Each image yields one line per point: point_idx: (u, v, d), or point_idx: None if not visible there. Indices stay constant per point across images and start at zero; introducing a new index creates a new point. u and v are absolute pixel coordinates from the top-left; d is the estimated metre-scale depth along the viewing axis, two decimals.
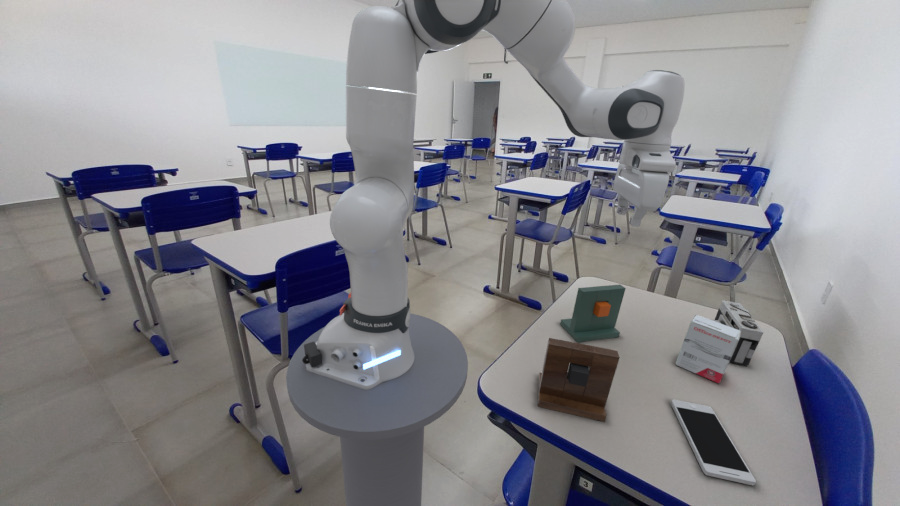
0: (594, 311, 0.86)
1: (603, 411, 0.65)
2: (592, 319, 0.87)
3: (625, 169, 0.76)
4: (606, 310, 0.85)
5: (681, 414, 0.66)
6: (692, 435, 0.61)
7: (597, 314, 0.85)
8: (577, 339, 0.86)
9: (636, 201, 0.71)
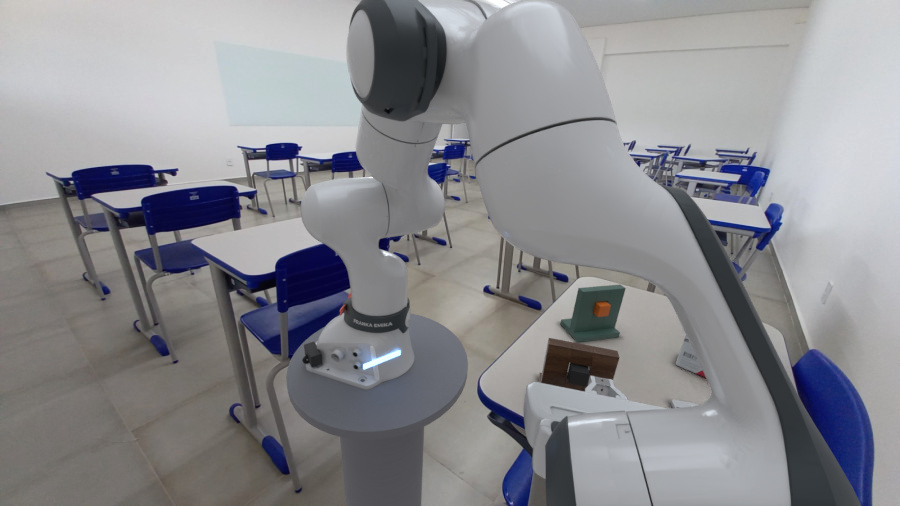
0: (594, 311, 0.86)
1: None
2: (592, 319, 0.87)
3: None
4: (606, 310, 0.85)
5: None
6: None
7: (597, 314, 0.85)
8: (577, 339, 0.86)
9: (547, 388, 0.45)
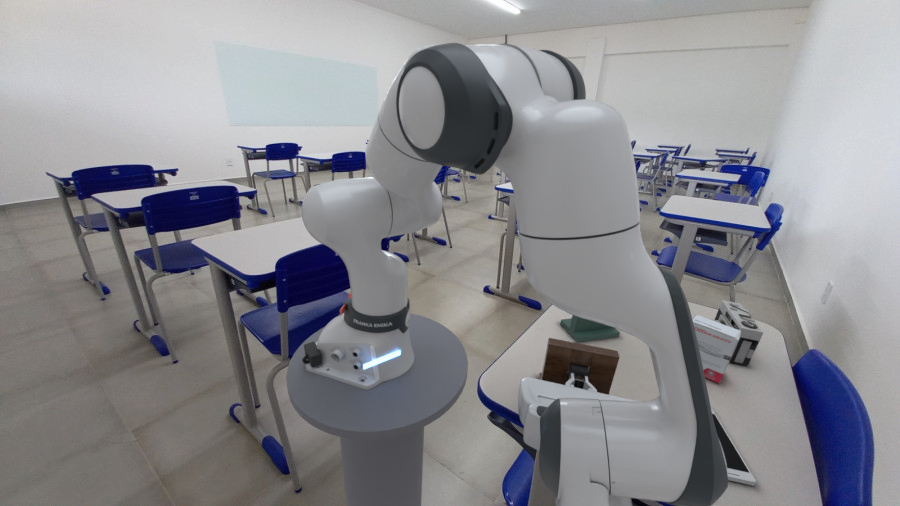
0: None
1: None
2: None
3: None
4: None
5: None
6: None
7: None
8: (577, 339, 0.86)
9: (536, 382, 0.59)
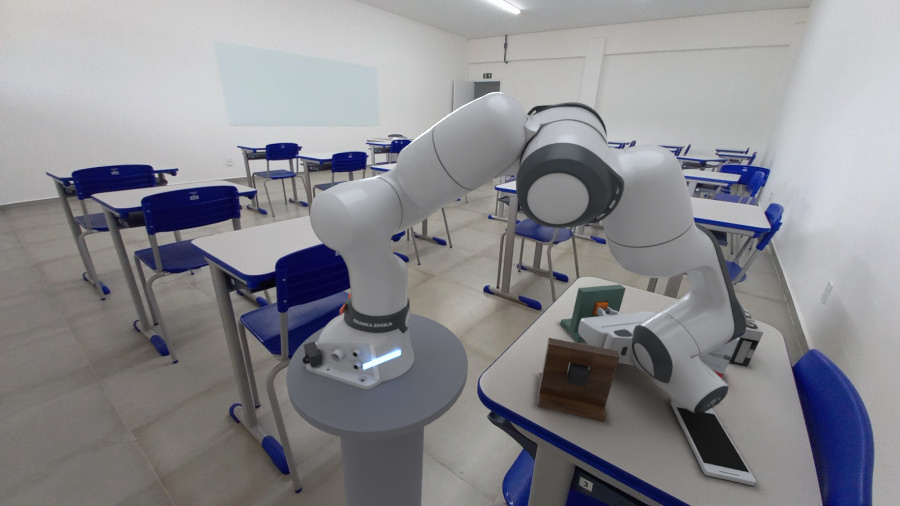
0: None
1: (603, 411, 0.65)
2: None
3: (636, 324, 0.75)
4: None
5: (681, 414, 0.66)
6: (692, 435, 0.61)
7: (595, 312, 0.86)
8: (577, 339, 0.86)
9: (591, 319, 0.78)
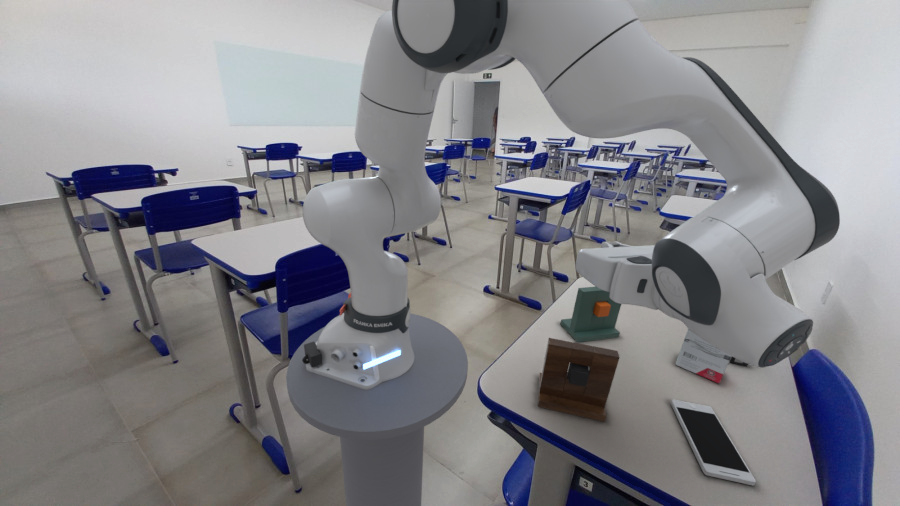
0: (594, 311, 0.86)
1: (603, 411, 0.65)
2: (592, 319, 0.87)
3: None
4: (606, 310, 0.85)
5: (681, 414, 0.66)
6: (692, 435, 0.61)
7: (597, 314, 0.85)
8: (577, 339, 0.86)
9: (594, 249, 0.56)
